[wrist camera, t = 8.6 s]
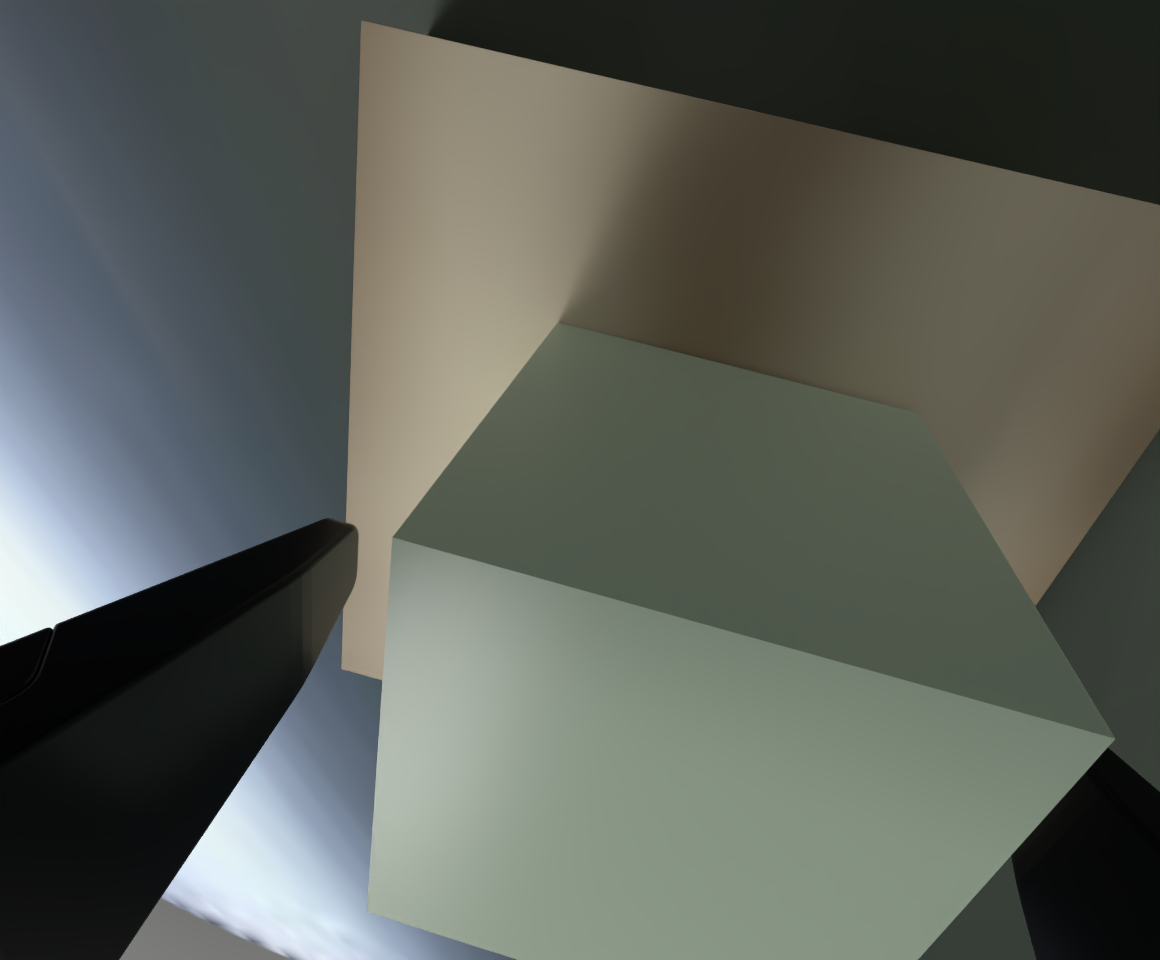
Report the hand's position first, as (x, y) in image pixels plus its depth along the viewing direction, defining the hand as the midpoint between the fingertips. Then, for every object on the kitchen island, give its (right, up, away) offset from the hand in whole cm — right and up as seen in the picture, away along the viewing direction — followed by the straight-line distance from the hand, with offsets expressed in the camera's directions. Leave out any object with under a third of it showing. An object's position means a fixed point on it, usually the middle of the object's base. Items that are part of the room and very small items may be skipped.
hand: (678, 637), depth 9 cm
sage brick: (0, +1, +3) cm, 3 cm away
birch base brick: (+1, +3, +5) cm, 6 cm away
